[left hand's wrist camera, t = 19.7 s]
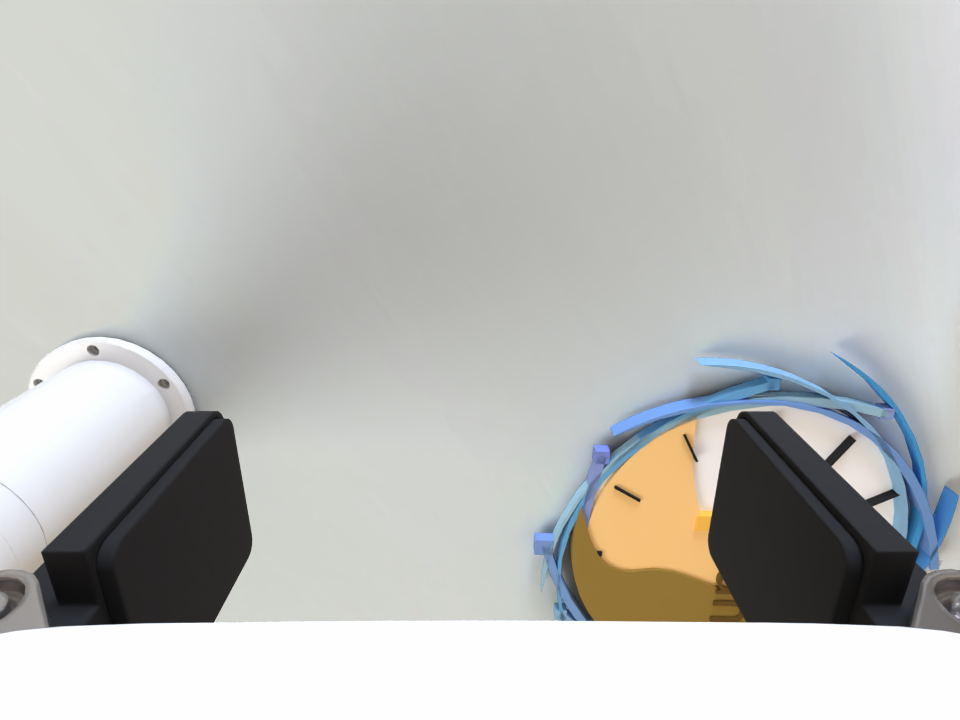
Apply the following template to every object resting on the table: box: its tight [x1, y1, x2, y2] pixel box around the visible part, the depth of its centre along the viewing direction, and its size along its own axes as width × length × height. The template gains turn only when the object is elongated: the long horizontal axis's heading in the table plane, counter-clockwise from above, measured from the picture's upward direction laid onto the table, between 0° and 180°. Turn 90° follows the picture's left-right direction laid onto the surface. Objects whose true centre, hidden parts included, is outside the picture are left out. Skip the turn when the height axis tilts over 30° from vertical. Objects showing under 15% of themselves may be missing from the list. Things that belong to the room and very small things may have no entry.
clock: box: [534, 352, 958, 623], centre depth 51 cm, size 34×35×2 cm
